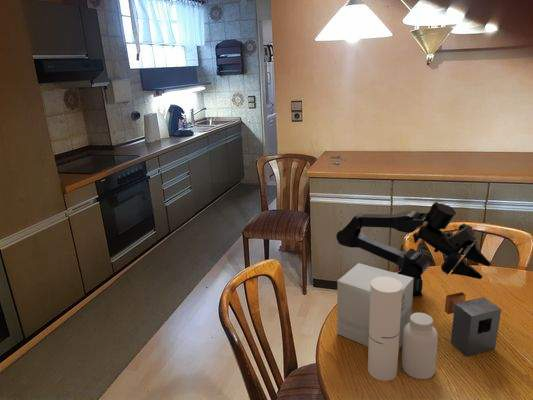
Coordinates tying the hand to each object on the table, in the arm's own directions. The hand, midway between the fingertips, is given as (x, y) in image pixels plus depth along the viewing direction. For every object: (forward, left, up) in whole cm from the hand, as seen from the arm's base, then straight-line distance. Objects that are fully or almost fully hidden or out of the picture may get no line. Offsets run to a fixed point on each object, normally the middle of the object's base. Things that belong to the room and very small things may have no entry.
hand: (486, 271), depth 115 cm
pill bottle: (-27, -21, -15) cm, 37 cm away
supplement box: (-34, -7, -15) cm, 38 cm away
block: (-9, -14, -15) cm, 22 cm away
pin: (-10, -9, -9) cm, 16 cm away
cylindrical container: (-36, -21, -15) cm, 44 cm away
